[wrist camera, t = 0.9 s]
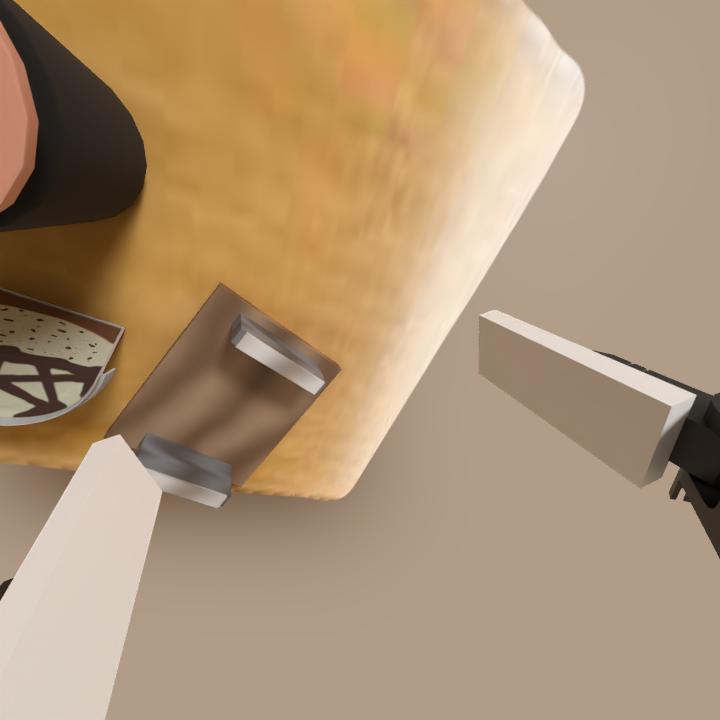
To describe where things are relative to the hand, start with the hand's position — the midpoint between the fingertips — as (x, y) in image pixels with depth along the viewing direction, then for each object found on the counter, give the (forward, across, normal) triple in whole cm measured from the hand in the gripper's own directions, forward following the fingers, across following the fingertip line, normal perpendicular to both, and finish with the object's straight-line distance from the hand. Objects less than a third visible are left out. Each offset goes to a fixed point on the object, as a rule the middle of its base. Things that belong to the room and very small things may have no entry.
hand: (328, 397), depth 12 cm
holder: (+25, -8, -12) cm, 29 cm away
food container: (+25, -20, -1) cm, 32 cm away
